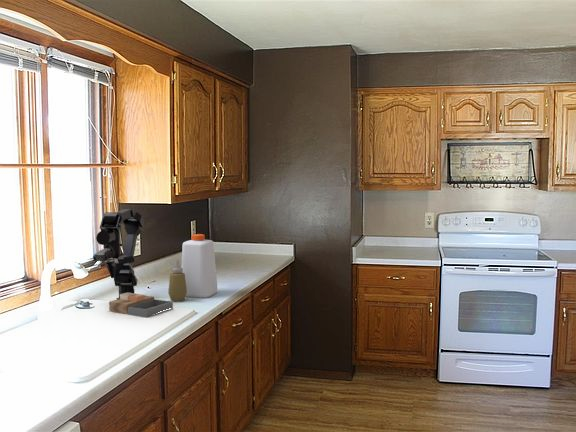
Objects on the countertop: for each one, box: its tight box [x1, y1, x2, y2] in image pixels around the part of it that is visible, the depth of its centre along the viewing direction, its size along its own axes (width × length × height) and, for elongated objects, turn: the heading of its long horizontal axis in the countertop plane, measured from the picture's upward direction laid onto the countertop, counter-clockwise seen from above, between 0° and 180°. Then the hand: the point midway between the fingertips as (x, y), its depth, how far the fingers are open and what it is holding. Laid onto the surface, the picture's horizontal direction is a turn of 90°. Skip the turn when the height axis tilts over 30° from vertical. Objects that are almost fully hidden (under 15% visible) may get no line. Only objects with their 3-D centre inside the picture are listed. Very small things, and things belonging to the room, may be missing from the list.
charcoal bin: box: [127, 298, 174, 318], centre depth 242 cm, size 10×16×3 cm, turn 151°
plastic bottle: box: [180, 233, 218, 299], centre depth 272 cm, size 15×15×28 cm
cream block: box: [120, 292, 137, 300], centre depth 247 cm, size 4×4×2 cm
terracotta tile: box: [129, 293, 145, 302], centre depth 245 cm, size 4×4×2 cm
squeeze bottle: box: [168, 259, 187, 303], centre depth 261 cm, size 8×8×18 cm
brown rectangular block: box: [108, 294, 155, 315], centre depth 246 cm, size 10×16×4 cm, turn 151°
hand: (114, 278), depth 250 cm, fingers closed
